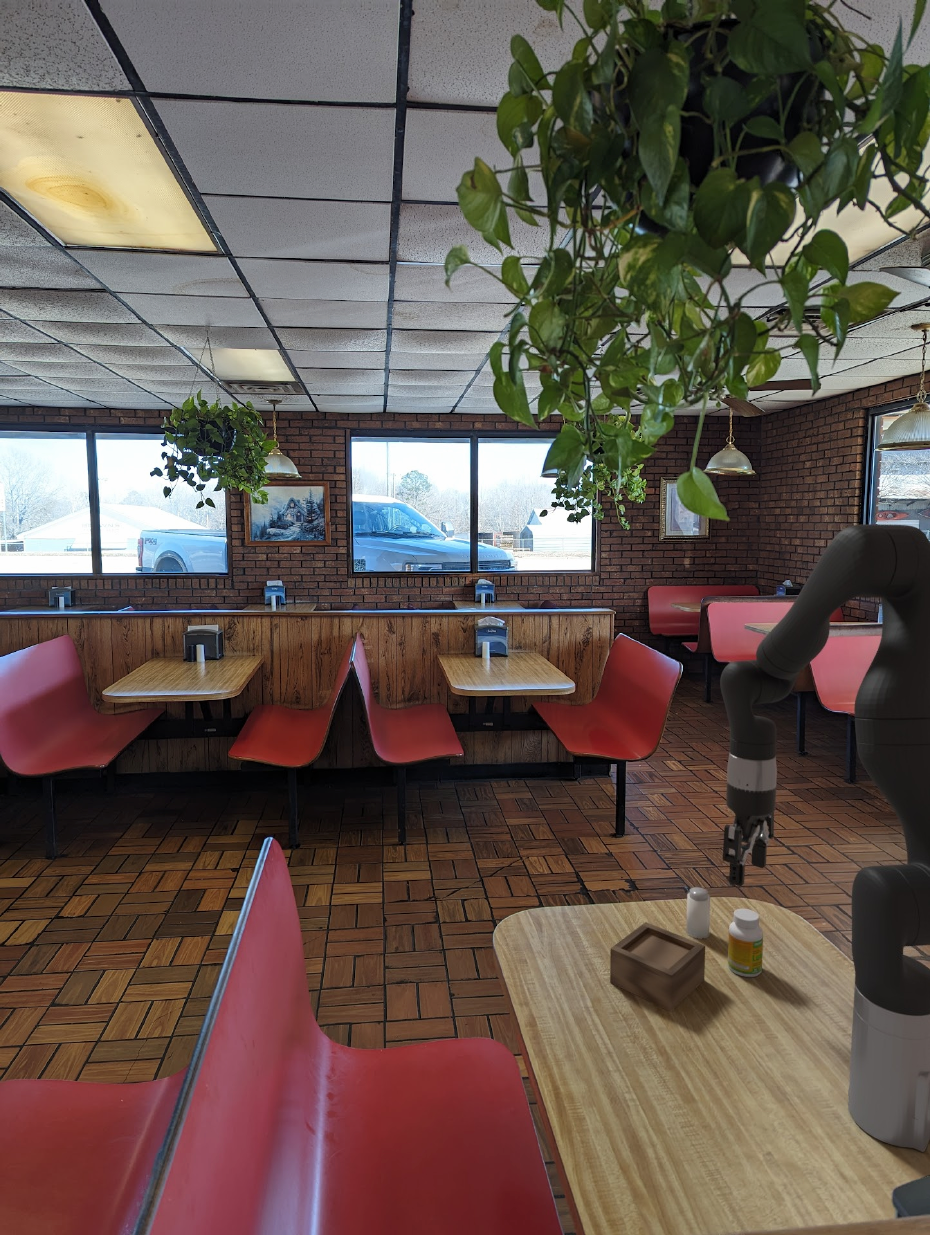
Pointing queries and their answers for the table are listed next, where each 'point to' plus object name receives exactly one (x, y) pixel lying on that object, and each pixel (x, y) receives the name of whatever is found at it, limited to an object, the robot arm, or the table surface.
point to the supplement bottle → (745, 944)
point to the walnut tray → (657, 965)
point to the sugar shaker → (698, 913)
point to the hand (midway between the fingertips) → (747, 875)
